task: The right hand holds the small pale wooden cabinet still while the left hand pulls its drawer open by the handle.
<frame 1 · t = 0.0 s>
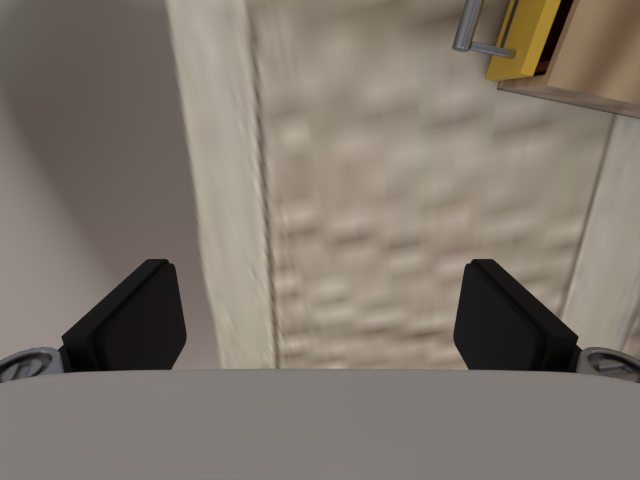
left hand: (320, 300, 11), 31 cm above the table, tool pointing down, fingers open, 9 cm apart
cabinet: (606, 53, 36), on the table
drawer: (587, 34, 32), point 4 cm above the table, slide at 0.9 cm
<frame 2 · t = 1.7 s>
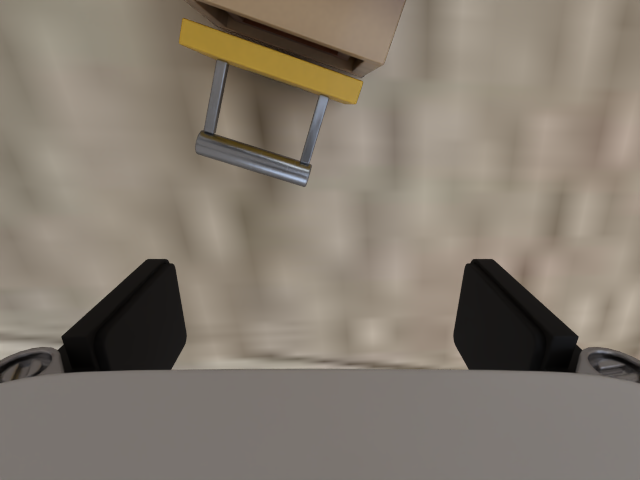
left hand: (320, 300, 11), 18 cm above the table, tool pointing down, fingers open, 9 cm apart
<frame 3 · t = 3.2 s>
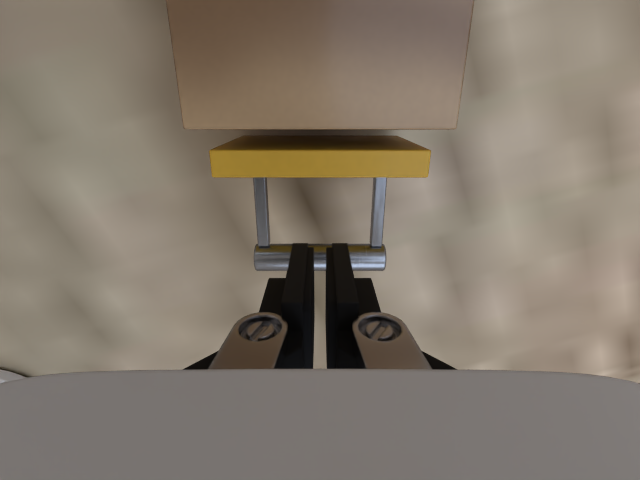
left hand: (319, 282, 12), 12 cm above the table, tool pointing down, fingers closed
drawer: (320, 22, 16), point 4 cm above the table, slide at 0.9 cm
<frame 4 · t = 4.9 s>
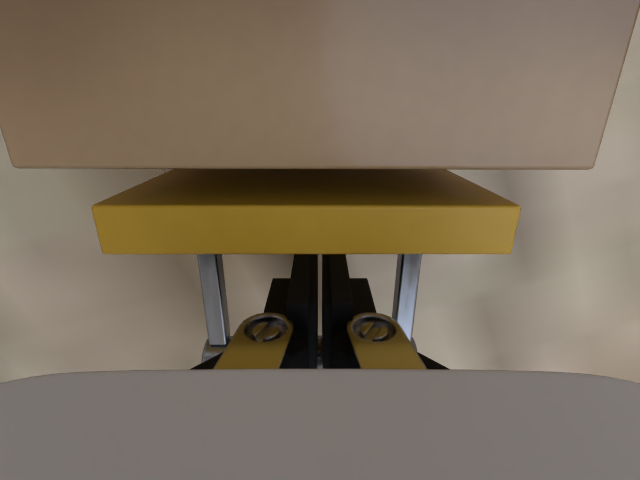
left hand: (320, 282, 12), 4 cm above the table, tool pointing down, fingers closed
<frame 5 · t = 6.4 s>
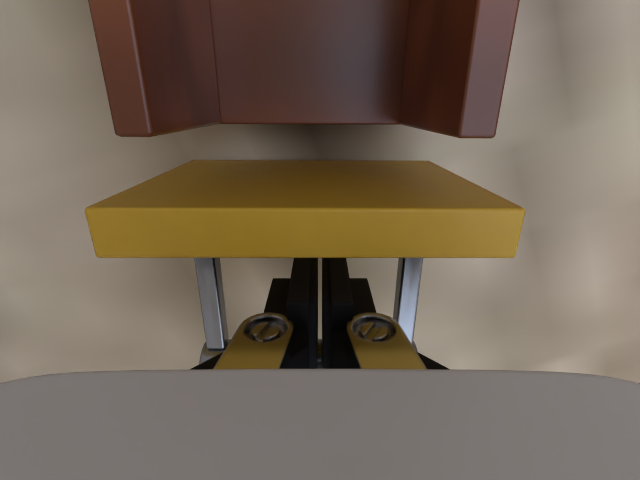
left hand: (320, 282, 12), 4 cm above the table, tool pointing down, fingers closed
when the right hand's fingers open (4 cm above the table, at t = 8.3 s): cabinet stays where it is, on the table.
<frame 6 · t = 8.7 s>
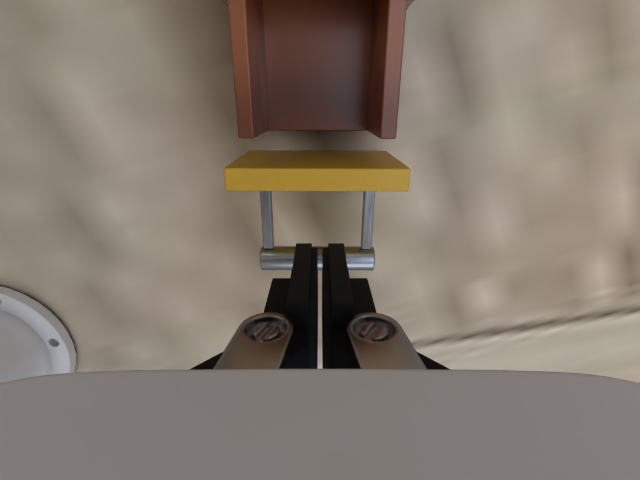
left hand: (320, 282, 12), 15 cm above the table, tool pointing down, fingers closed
drawer: (317, 58, 19), point 4 cm above the table, slide at 8.4 cm
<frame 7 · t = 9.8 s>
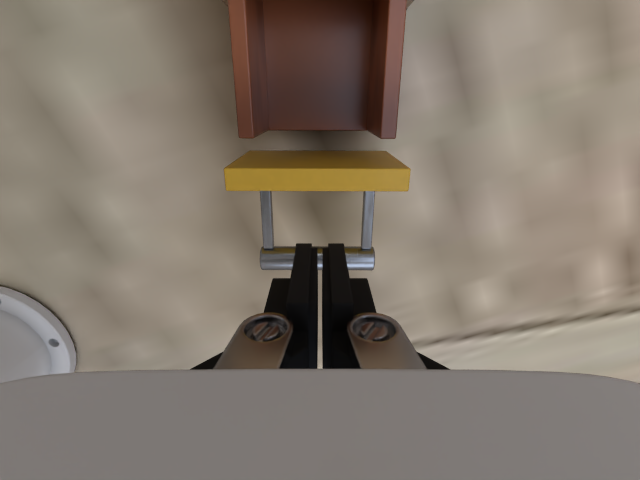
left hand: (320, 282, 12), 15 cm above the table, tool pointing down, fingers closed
drawer: (317, 58, 19), point 4 cm above the table, slide at 8.4 cm
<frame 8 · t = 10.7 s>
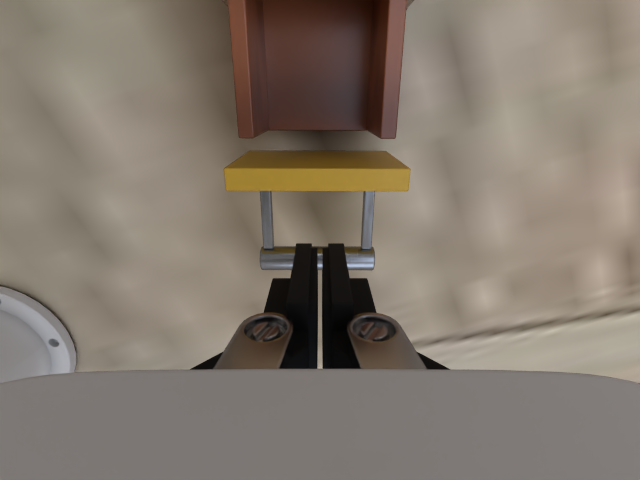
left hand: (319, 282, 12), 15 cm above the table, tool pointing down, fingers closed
drawer: (317, 58, 19), point 4 cm above the table, slide at 8.4 cm
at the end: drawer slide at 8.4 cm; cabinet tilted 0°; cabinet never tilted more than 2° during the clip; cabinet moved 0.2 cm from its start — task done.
